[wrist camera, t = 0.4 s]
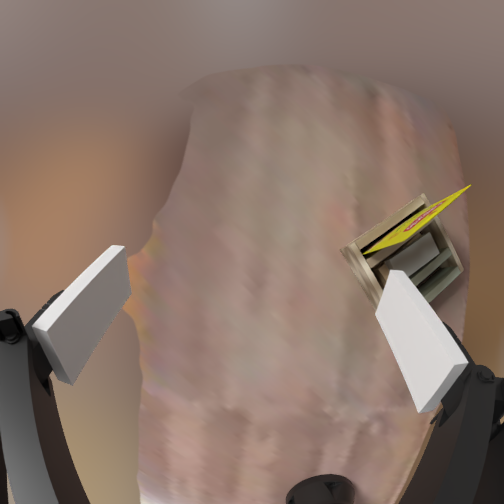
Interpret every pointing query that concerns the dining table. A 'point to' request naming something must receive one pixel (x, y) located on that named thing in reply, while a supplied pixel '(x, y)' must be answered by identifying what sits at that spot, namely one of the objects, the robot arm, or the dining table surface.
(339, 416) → the dining table surface
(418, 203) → the rack
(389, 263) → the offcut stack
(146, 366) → the dining table surface
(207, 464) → the dining table surface
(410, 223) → the food package
